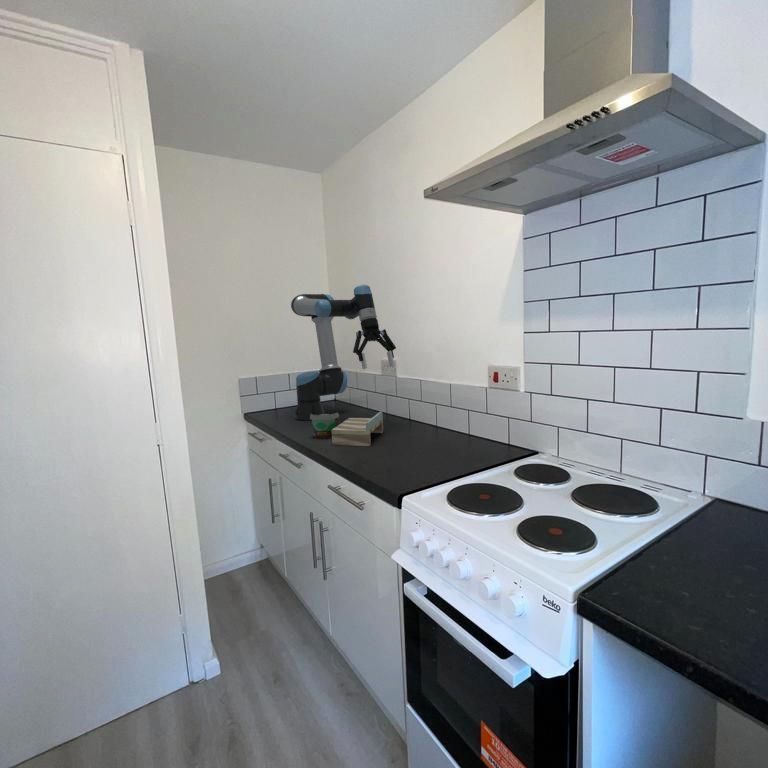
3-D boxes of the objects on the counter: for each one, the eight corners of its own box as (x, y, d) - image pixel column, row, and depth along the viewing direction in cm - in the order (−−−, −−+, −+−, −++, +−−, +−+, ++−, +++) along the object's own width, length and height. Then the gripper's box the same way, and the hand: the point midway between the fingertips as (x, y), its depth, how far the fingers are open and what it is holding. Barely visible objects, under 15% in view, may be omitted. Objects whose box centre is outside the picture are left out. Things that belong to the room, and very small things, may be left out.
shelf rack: (350, 431, 184) (349, 411, 183) (383, 431, 180) (382, 411, 179) (332, 445, 163) (331, 422, 162) (369, 446, 159) (368, 423, 158)
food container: (309, 439, 172) (307, 416, 171) (311, 436, 178) (309, 413, 177) (339, 438, 172) (337, 414, 171) (340, 434, 178) (338, 411, 177)
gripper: (346, 317, 172) (356, 367, 169) (396, 316, 185) (407, 362, 182) (339, 324, 178) (349, 372, 175) (388, 322, 191) (398, 367, 188)
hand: (378, 367), depth 179 cm, fingers open, 13 cm apart
